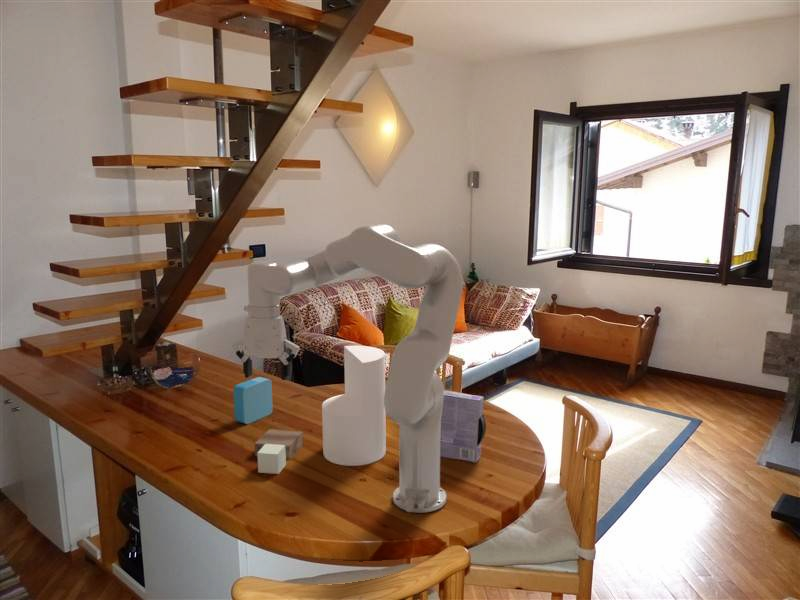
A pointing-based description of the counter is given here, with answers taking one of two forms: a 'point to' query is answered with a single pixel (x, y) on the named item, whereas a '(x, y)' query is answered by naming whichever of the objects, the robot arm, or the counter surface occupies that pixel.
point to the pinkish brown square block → (281, 440)
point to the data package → (253, 400)
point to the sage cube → (271, 458)
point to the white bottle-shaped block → (357, 410)
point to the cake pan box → (462, 426)
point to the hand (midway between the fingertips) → (266, 377)
